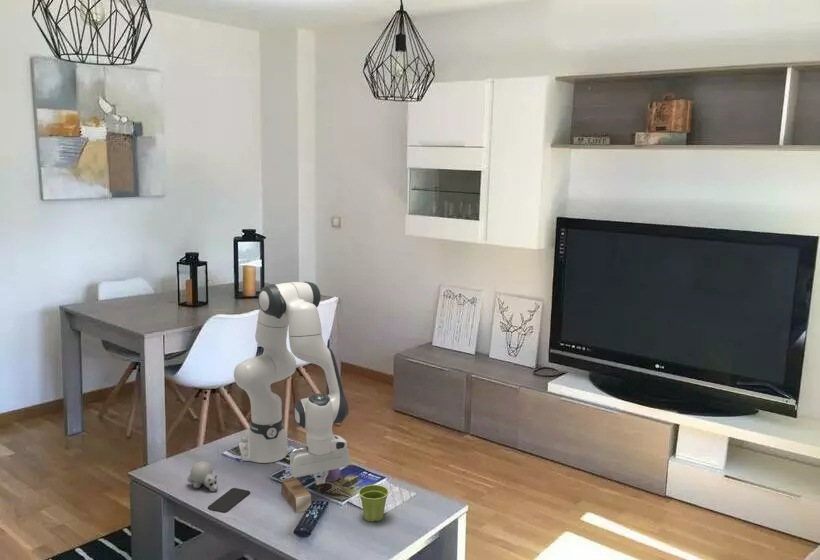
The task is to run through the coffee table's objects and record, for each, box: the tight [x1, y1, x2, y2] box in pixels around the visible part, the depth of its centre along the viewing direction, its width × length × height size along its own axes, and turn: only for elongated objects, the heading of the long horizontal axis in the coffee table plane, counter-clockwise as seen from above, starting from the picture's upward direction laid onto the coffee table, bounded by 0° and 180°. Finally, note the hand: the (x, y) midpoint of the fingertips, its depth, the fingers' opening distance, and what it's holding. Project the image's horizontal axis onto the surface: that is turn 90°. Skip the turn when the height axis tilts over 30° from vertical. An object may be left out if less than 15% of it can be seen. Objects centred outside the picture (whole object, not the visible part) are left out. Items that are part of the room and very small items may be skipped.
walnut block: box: [281, 477, 312, 514], centre depth 232 cm, size 5×5×14 cm
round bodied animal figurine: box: [187, 460, 219, 492], centre depth 240 cm, size 7×12×8 cm, turn 53°
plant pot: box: [358, 484, 390, 523], centre depth 223 cm, size 9×9×9 cm
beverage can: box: [325, 468, 341, 482], centre depth 249 cm, size 6×6×15 cm
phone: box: [207, 487, 251, 514], centre depth 232 cm, size 7×1×15 cm
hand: (320, 483), depth 236 cm, fingers closed
